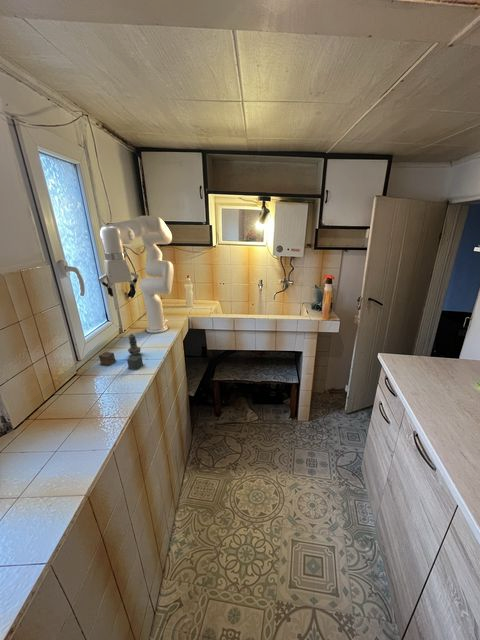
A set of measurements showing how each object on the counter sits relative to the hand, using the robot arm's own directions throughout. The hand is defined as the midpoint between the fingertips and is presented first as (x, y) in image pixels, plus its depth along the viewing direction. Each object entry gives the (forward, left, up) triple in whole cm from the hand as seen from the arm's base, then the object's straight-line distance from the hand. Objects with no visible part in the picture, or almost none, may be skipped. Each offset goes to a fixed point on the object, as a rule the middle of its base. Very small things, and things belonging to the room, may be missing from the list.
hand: (122, 294), depth 133 cm
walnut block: (+15, -3, -29) cm, 33 cm away
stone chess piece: (+5, +5, -30) cm, 30 cm away
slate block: (+15, +12, -29) cm, 35 cm away
